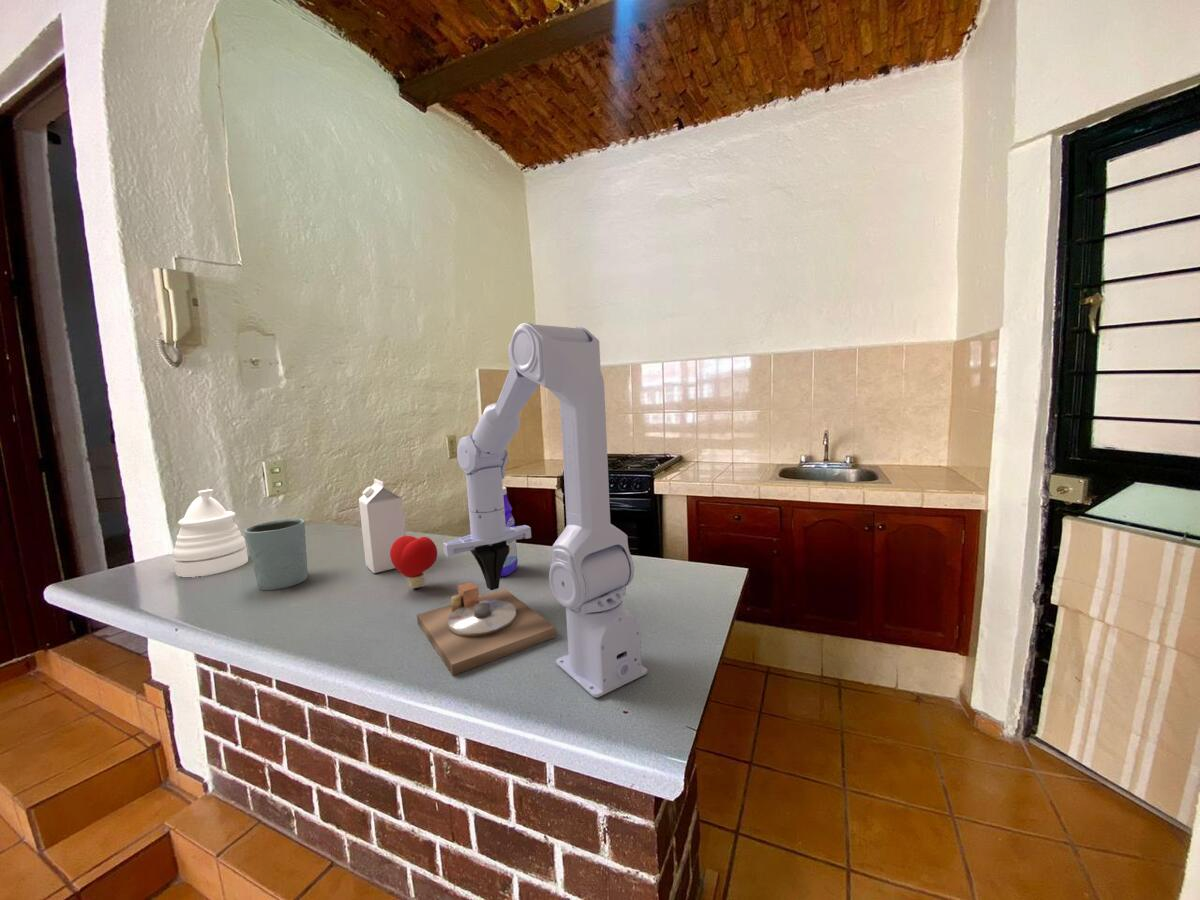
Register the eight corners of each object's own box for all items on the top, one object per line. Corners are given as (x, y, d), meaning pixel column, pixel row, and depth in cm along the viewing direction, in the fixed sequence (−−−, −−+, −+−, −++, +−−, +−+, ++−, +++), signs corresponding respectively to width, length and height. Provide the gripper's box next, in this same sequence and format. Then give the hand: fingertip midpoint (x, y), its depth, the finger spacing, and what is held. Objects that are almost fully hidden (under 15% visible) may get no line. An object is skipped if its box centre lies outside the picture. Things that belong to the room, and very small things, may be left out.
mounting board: (555, 636, 68) (554, 612, 67) (452, 675, 59) (450, 647, 59) (505, 597, 83) (504, 576, 82) (417, 623, 74) (415, 600, 74)
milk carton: (399, 557, 107) (391, 476, 105) (409, 565, 101) (400, 479, 99) (365, 566, 102) (356, 481, 100) (374, 574, 97) (364, 484, 95)
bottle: (508, 579, 91) (502, 491, 89) (481, 578, 92) (474, 491, 90) (522, 565, 98) (516, 484, 96) (496, 565, 99) (490, 484, 97)
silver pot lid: (527, 621, 70) (525, 600, 69) (461, 644, 64) (459, 620, 63) (494, 595, 80) (493, 575, 79) (435, 612, 74) (433, 592, 74)
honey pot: (258, 562, 109) (247, 486, 107) (188, 581, 98) (175, 498, 96) (234, 554, 116) (224, 483, 114) (166, 572, 105) (154, 493, 103)
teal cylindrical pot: (290, 591, 90) (282, 530, 89) (238, 593, 90) (230, 533, 89) (322, 571, 100) (315, 517, 99) (276, 573, 101) (268, 519, 99)
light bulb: (383, 593, 87) (378, 541, 85) (410, 579, 93) (405, 530, 92) (424, 598, 84) (419, 544, 82) (449, 583, 90) (444, 533, 89)
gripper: (516, 497, 84) (521, 570, 86) (435, 512, 76) (442, 591, 78) (534, 504, 79) (539, 581, 80) (448, 520, 70) (455, 606, 72)
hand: (492, 587), depth 78 cm, fingers closed
